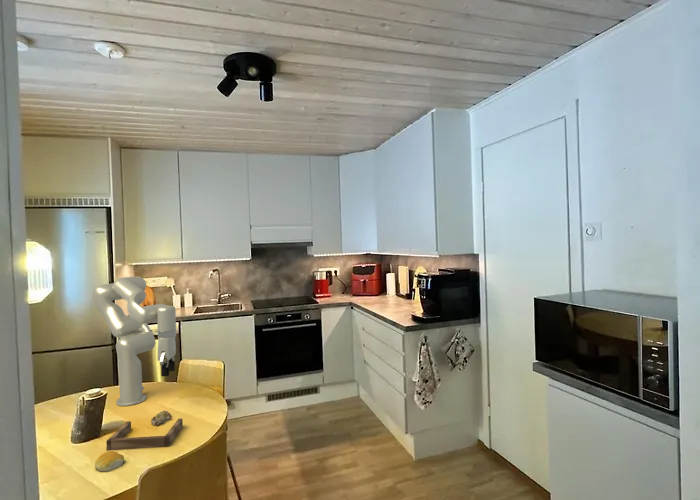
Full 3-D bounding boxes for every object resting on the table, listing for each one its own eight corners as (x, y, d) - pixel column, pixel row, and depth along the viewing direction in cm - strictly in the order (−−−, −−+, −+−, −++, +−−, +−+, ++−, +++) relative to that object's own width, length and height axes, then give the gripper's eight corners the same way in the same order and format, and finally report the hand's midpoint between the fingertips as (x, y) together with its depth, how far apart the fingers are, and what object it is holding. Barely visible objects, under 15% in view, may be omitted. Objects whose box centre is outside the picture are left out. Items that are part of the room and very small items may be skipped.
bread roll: (114, 456, 143) (114, 445, 143) (127, 463, 138) (127, 452, 138) (89, 467, 136) (89, 455, 136) (102, 475, 132) (102, 463, 131)
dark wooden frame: (127, 429, 163) (126, 421, 163) (182, 426, 165) (182, 418, 165) (106, 450, 147) (106, 441, 147) (168, 446, 149) (168, 437, 149)
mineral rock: (153, 411, 175) (171, 405, 176) (157, 420, 176) (175, 414, 177) (144, 423, 165) (163, 416, 166) (147, 433, 165) (167, 426, 166)
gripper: (165, 329, 187) (166, 367, 188) (150, 338, 170) (151, 380, 170) (182, 329, 188) (183, 367, 188) (168, 338, 171) (169, 379, 171)
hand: (168, 373), depth 179 cm, fingers open, 6 cm apart
